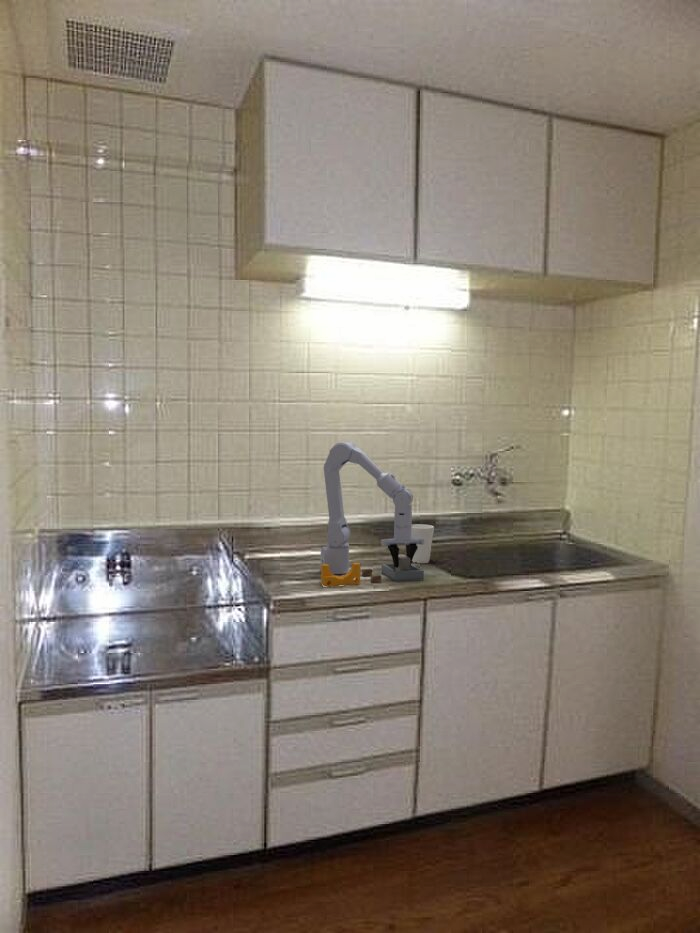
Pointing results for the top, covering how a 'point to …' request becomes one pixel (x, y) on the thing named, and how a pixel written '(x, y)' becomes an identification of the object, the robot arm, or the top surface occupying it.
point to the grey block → (403, 563)
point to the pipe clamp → (333, 580)
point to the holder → (369, 573)
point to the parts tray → (402, 573)
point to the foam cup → (424, 550)
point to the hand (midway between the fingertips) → (402, 566)
